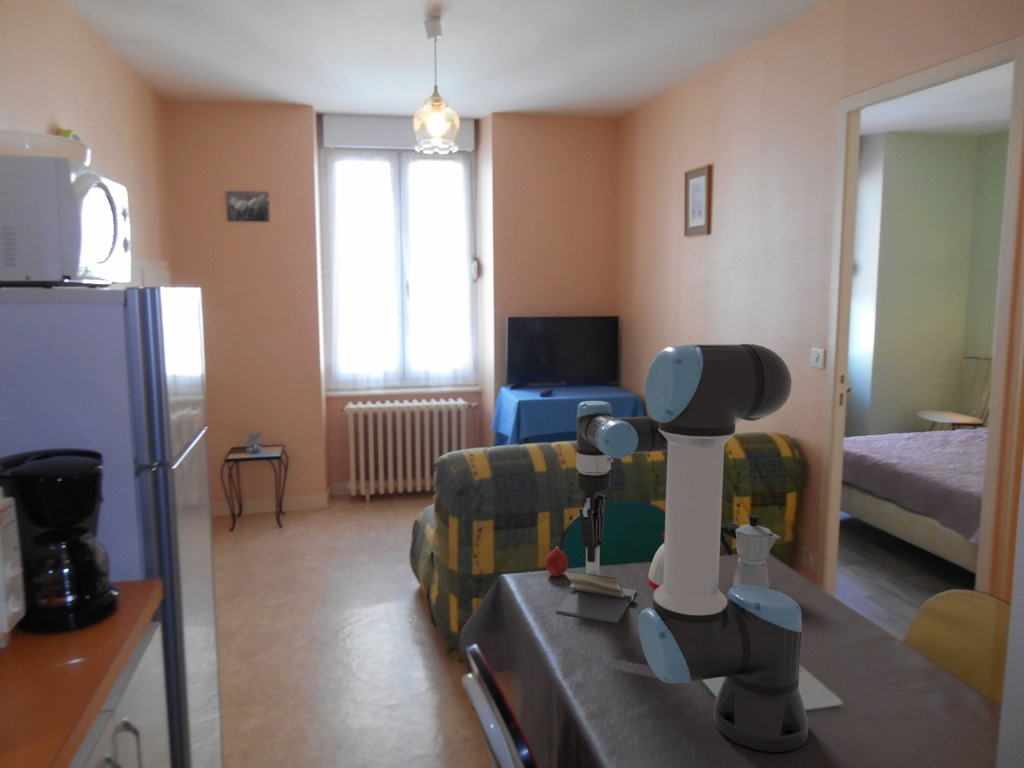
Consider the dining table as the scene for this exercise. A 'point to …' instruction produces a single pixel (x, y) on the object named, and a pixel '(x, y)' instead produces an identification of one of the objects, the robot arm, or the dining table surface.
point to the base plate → (595, 606)
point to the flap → (595, 584)
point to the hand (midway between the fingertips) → (592, 573)
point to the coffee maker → (750, 551)
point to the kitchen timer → (657, 568)
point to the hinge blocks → (628, 597)
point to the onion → (556, 562)
